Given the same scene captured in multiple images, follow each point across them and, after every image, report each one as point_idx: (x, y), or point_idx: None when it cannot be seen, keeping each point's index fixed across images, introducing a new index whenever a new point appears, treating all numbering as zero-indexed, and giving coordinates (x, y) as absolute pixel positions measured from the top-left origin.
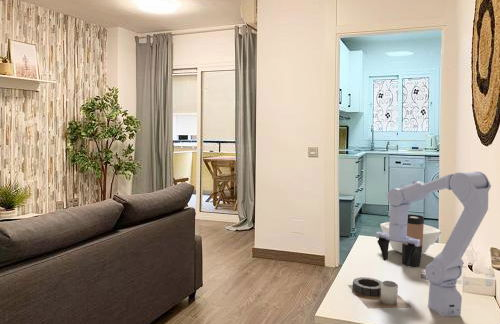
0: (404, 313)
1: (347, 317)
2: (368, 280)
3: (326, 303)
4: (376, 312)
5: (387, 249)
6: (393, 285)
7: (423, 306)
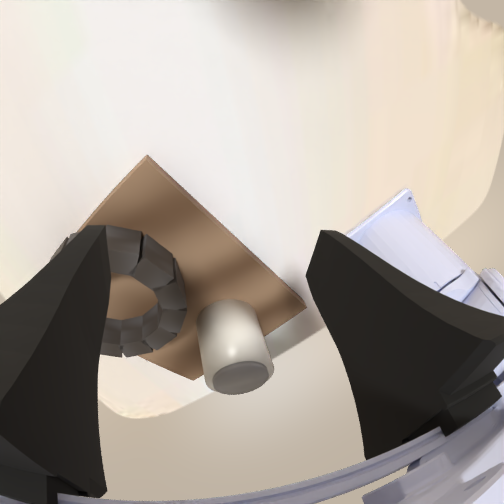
0: (284, 327)
1: (171, 406)
2: None
3: None
4: None
5: (72, 305)
6: (261, 385)
7: None
